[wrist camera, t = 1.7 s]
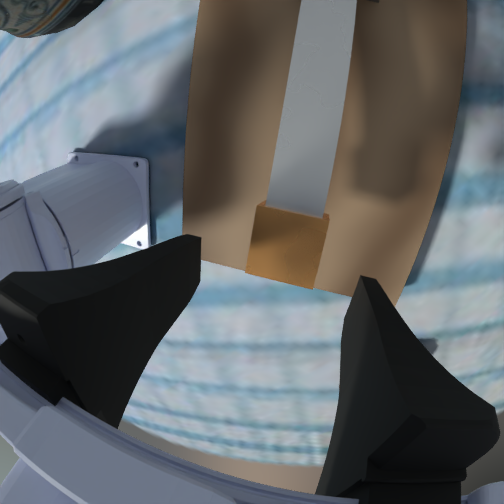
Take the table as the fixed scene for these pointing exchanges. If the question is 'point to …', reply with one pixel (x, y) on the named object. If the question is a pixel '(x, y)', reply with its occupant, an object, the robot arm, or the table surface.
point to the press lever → (305, 147)
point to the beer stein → (42, 15)
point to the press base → (350, 136)
